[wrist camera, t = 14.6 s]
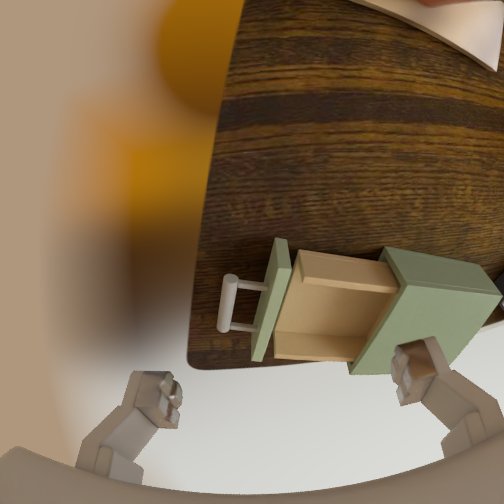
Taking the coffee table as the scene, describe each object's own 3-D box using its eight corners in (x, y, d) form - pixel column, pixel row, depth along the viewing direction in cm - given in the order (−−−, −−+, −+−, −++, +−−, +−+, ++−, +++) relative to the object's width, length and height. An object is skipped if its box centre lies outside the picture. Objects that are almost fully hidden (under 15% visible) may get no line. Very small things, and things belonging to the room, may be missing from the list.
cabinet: (339, 335, 39) (349, 375, 33) (384, 245, 30) (407, 285, 25) (430, 337, 40) (445, 370, 35) (478, 264, 32) (503, 296, 27)
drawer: (216, 325, 36) (212, 356, 32) (230, 230, 29) (226, 260, 25) (364, 338, 38) (372, 366, 34) (408, 259, 30) (426, 286, 26)
